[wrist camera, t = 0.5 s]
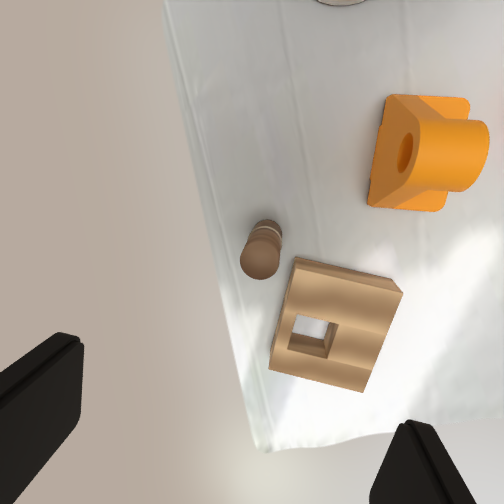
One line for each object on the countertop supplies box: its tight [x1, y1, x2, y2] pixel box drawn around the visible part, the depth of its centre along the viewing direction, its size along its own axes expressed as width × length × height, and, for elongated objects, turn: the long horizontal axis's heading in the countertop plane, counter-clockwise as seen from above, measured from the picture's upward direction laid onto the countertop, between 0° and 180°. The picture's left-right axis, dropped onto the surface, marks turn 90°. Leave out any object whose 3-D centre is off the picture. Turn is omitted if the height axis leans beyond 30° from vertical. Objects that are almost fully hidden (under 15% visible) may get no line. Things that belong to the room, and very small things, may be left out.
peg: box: [240, 220, 282, 280], centre depth 33 cm, size 4×4×10 cm
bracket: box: [367, 94, 489, 212], centre depth 27 cm, size 11×7×12 cm, turn 176°
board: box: [269, 257, 403, 393], centre depth 38 cm, size 14×12×4 cm
